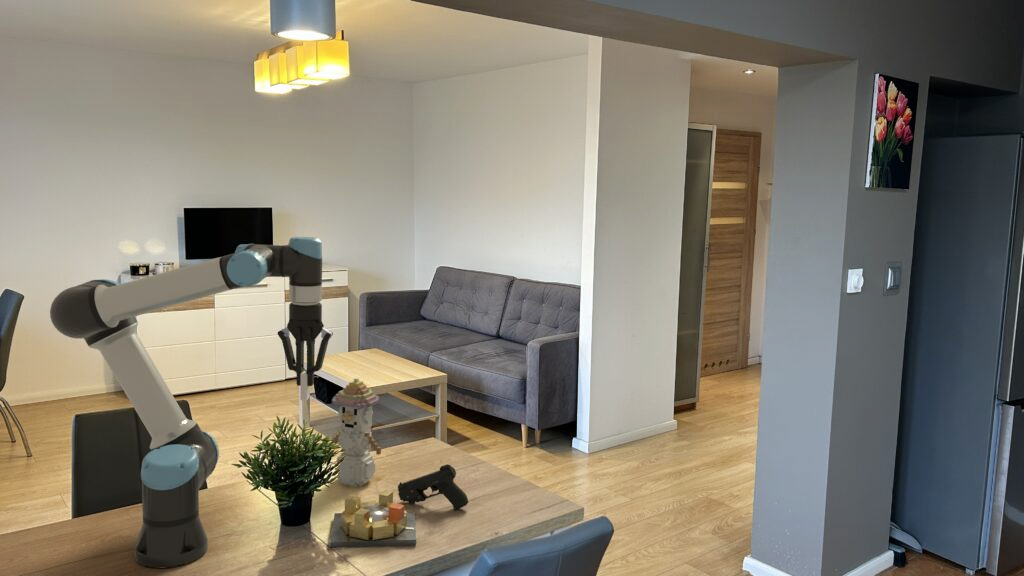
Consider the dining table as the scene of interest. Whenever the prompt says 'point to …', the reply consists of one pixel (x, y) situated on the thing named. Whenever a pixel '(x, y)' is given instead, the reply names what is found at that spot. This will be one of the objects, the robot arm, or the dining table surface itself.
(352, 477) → the toy
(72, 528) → the dining table surface
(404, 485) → the handgun
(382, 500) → the ring nut
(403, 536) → the base plate
